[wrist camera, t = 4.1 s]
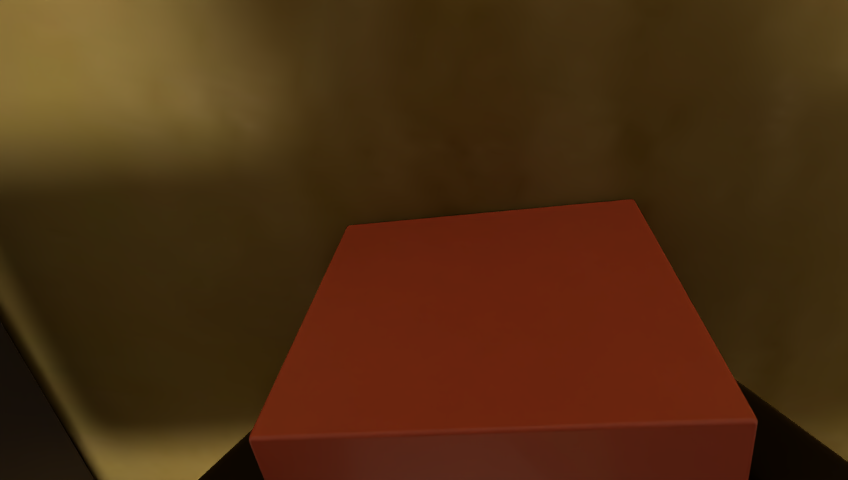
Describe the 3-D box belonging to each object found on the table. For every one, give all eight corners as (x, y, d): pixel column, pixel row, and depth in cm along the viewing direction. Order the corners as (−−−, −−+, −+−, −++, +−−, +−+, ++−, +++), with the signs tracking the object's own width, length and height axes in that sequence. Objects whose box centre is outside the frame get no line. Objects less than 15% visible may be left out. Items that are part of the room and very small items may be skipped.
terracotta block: (634, 197, 8) (761, 421, 5) (629, 417, 10) (713, 701, 7) (346, 224, 9) (246, 438, 5) (393, 426, 11) (345, 689, 7)
